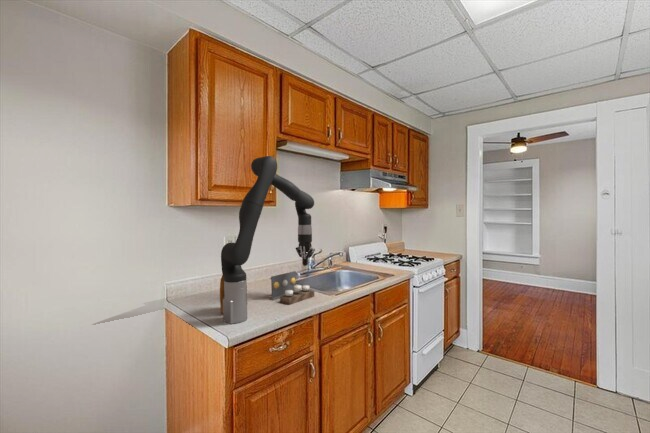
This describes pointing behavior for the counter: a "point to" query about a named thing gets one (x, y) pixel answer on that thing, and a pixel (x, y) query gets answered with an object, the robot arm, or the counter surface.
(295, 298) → the button board
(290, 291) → the button near
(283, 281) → the pattern card
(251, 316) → the counter surface
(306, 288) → the button far
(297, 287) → the button mid
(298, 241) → the robot arm
